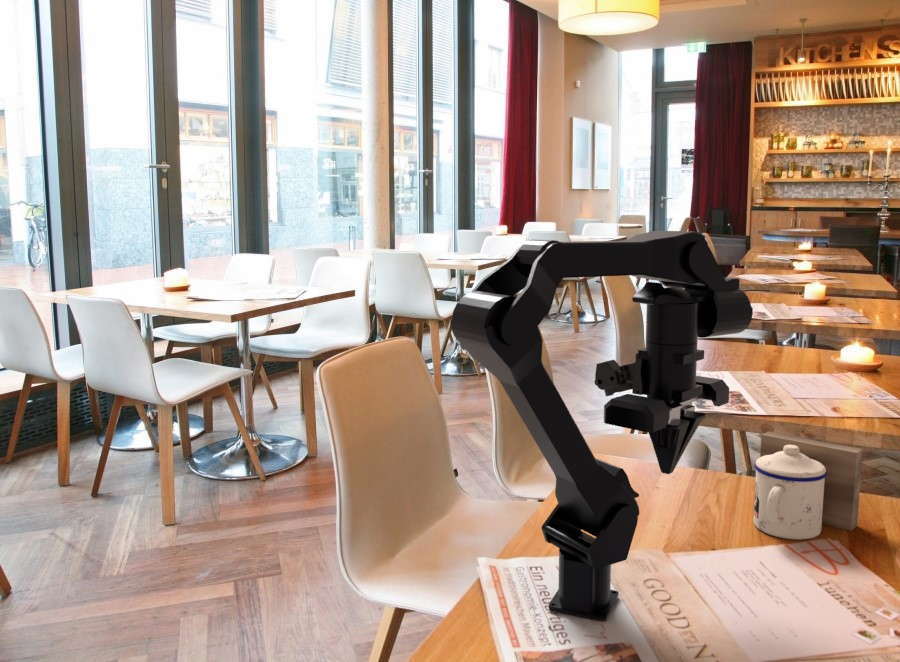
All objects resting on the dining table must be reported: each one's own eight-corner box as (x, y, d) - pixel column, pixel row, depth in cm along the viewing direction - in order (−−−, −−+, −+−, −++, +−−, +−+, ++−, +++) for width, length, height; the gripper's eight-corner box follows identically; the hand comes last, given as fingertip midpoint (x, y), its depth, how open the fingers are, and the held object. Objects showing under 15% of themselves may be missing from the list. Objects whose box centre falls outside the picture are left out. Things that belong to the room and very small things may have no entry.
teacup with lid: (764, 510, 116) (768, 433, 114) (831, 526, 110) (836, 444, 109) (734, 536, 107) (738, 453, 105) (805, 554, 101) (810, 466, 100)
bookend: (851, 530, 109) (856, 453, 107) (757, 506, 118) (761, 434, 116) (857, 525, 110) (862, 449, 109) (764, 502, 119) (768, 431, 118)
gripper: (651, 325, 103) (647, 442, 105) (565, 343, 90) (563, 476, 92) (733, 334, 95) (727, 460, 98) (653, 355, 82) (648, 500, 85)
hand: (666, 472), depth 93 cm, fingers closed
